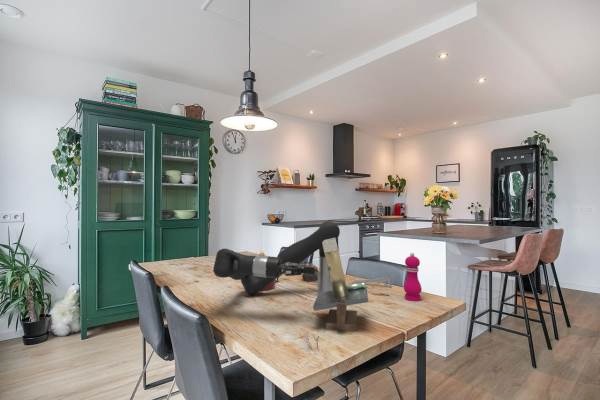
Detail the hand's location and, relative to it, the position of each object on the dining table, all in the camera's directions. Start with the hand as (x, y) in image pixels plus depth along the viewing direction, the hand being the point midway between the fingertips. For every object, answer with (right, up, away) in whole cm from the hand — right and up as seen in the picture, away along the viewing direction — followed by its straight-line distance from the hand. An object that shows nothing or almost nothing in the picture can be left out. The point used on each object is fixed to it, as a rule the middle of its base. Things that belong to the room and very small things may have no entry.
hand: (314, 270), depth 111 cm
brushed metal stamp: (+9, -10, -2) cm, 14 cm away
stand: (+10, -18, -2) cm, 20 cm away
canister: (-24, -19, +44) cm, 54 cm away
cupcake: (0, -19, +59) cm, 62 cm away
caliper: (+31, -19, +48) cm, 60 cm away
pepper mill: (+44, -18, +25) cm, 53 cm away
